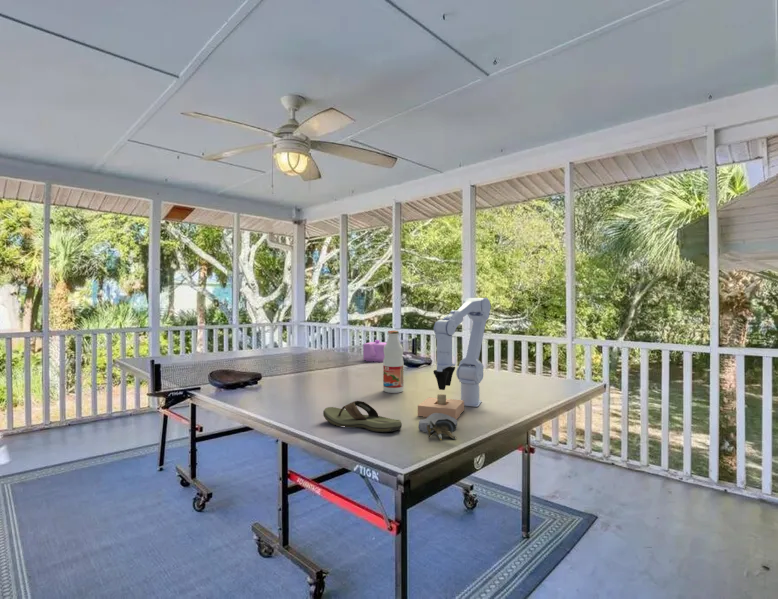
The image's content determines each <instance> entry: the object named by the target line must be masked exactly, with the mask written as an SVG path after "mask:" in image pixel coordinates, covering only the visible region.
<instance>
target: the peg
mask: <svg viewBox="0 0 778 599" xmlns="http://www.w3.org/2000/svg"><path fill="white" fill-rule="evenodd" d="M436 398H437V404H441V405H446V399H447V394H445V393H444V394H442V393H438V394H437V397H436Z"/></svg>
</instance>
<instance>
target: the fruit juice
mask: <svg viewBox="0 0 778 599" xmlns="http://www.w3.org/2000/svg"><path fill="white" fill-rule="evenodd" d="M399 333H400V332H399V330H388V331H387V335H388V338H387V341H386V342H385V343H386V345H385V347H384V355H385V357H384V361H383V362H382V363H383V364H382V365H383V367H382V369H383V372H382V373H383V374H382V375H383V376H382V377H383V379H382V383H383V385H382V386H383V387H382V388H383V392H385V393H389V394H398V393H402V392H403V391H404V364H405V363H404V358H403V354H404V347H403V345H402V344H401V342H400V339H399Z"/></svg>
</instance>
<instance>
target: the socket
mask: <svg viewBox="0 0 778 599" xmlns="http://www.w3.org/2000/svg"><path fill="white" fill-rule="evenodd" d="M463 411H464V412H465V406H464V400H461V399H452V398H446V405H441V404H437V397H430V396H428V397H427V398H426V399H424V400H423V401H422V402H420V403H419V404H418V405H417V417H419V416H423V417H422V418H427V417H428V416H430V415H431V414H433V413H442V414H446V415H448V416H451V417H453V418H455V419H456V420H457V419H458V418H460V416H461V415H462V414H463V413H464V412H463ZM462 412H463V413H462ZM461 413H462V414H461ZM460 414H461V415H460Z"/></svg>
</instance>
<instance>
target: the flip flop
mask: <svg viewBox="0 0 778 599" xmlns="http://www.w3.org/2000/svg"><path fill="white" fill-rule="evenodd" d="M359 408H360V409H362V410H364V411H365V412H366V413H367V414H363V413H362V412H361V411H360V410H359ZM322 414H323V415H322V416H323V417H324V418H325V420H326V421H327V422H328V423H330V424H331V425H333V426H335V425H336V426H335V427H338V426H345V427H359V428H358V429H360V428H361V429H366V430H368V431H370V432H375V433H376V432H377V433H389V432H395V431H399V430H401V429H402V424H403V423H402V421H401V420H400V419H395V418H389V417H386V416H381V415H379V413H378V412H377V410H376V409H375V408H374V407H372V406H371V405H369V403H367V402H365V401H362V400H361V401H360V400H355V401H352V402H349V403H348V404H346V405H343V406H342V407H341V408H340V407H336V406H335V407H334V406H329V407H326V408H324V410H323V413H322Z"/></svg>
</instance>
